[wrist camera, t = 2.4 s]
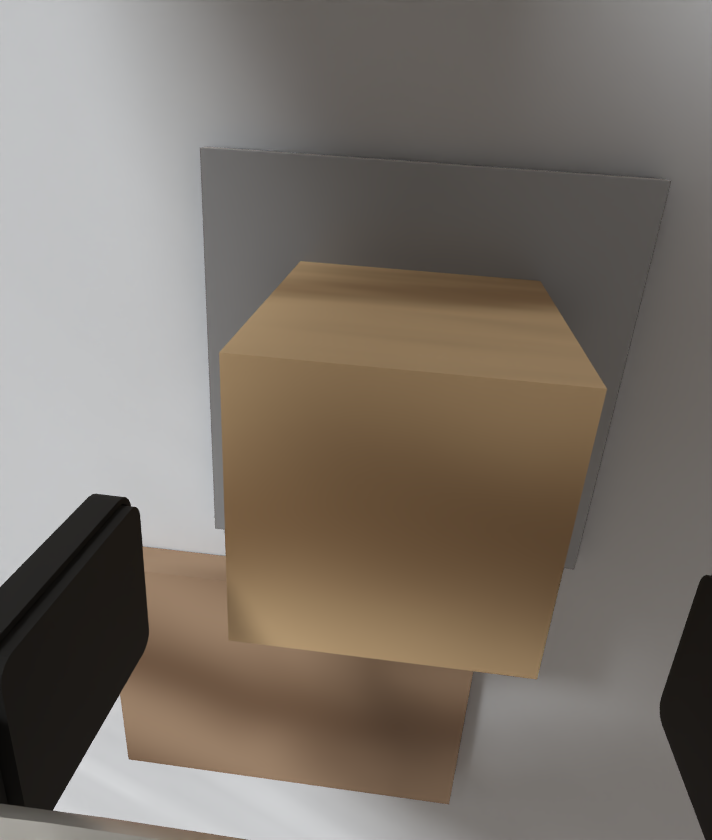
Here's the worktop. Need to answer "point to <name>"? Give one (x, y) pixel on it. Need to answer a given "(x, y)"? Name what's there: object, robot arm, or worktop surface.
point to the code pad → (430, 246)
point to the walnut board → (282, 699)
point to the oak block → (403, 466)
